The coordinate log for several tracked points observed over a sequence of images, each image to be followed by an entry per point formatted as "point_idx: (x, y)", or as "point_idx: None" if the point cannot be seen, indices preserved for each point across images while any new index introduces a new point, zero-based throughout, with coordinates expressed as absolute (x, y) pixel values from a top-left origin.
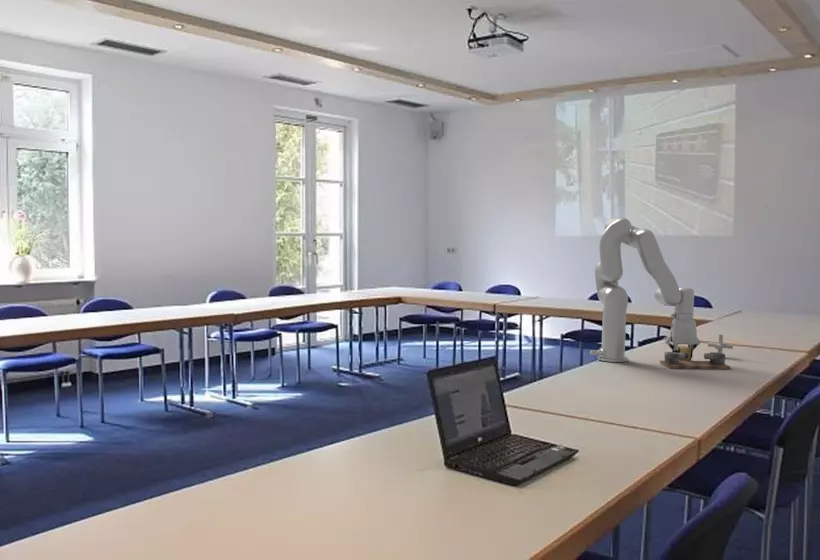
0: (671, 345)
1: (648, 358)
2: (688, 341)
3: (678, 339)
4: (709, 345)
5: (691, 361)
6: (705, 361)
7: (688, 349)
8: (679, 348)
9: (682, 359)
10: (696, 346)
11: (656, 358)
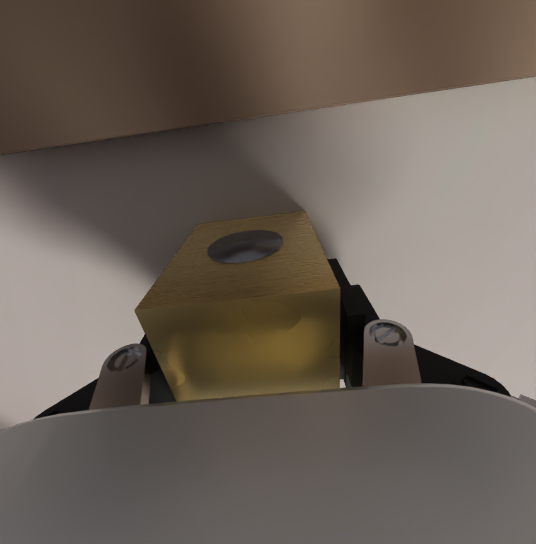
0: (474, 387)
1: (507, 338)
2: (129, 468)
3: (494, 531)
4: None
5: (199, 61)
6: (8, 105)
7: (189, 292)
8: (337, 319)
9: (280, 223)
10: (44, 413)
11: (439, 347)
